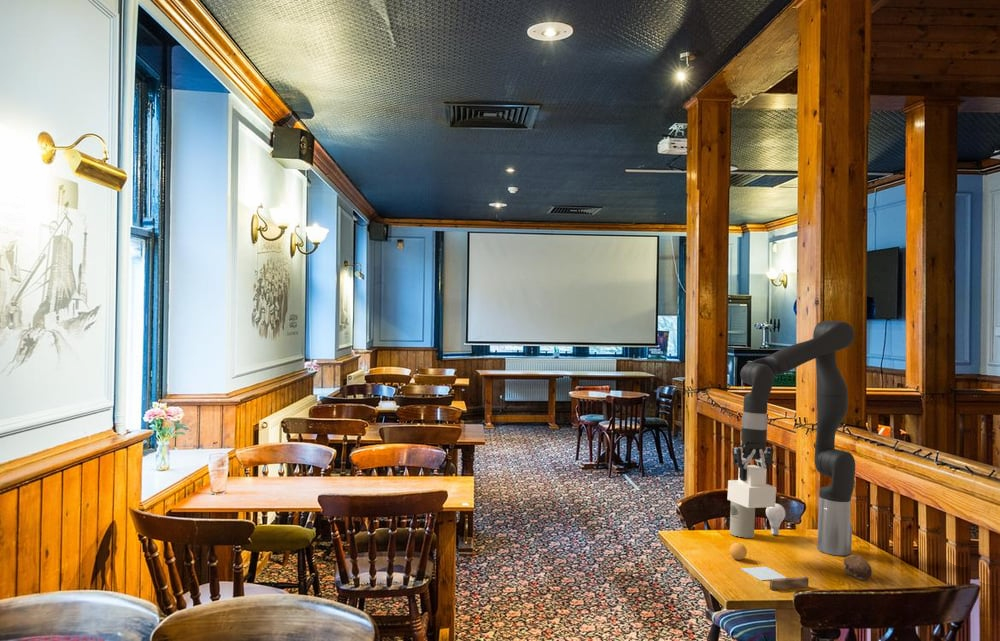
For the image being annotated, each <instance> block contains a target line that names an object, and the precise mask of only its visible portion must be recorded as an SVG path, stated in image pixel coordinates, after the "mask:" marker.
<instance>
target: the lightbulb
mask: <svg viewBox="0 0 1000 641" xmlns="http://www.w3.org/2000/svg"><path fill="white" fill-rule="evenodd" d="M765 508H766V509H765V515H766V516H765V517H767V520H768V521H769V526H770V534H771V535H773V536H777V535H779V534H780V527H781V524H782V522H783V520H784V519H785V517H786V510H785V508H784V507H783V505H781V504H779V503H776V502H775V507H765Z"/></svg>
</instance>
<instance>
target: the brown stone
mask: <svg viewBox="0 0 1000 641" xmlns="http://www.w3.org/2000/svg"><path fill="white" fill-rule="evenodd" d="M843 562H844V569H843V571H844V573H845V574H847V575H850V576H854V577H855V578H856V579H859V580H862V581H864V580H865V581H866V580H868V579H869V578H870V577H871V576H872V574H873V571H872V570H873V569H872V567H871V565H870V563H869V562H868V560H866V559H865V558H864V557H862V556H860V555H858V554H857V555H856V554H850V555H849V554H848V555H846V556H845V558H844V561H843Z"/></svg>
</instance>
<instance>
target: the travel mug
mask: <svg viewBox="0 0 1000 641" xmlns="http://www.w3.org/2000/svg"><path fill="white" fill-rule="evenodd" d="M729 514H730V515H729V516H730V517H729V534H731V535H732V536H733V535H734V537H736V536H738V537H737V538H740V537H744V538H743V539H751V538H754V537H755V524H756V523H755V521H756V520H755V519H756V518H755V517H756V508H747V507H745V506H742V505H740V504H737V503H735V502H732V501H730V512H729Z"/></svg>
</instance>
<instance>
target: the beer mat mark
mask: <svg viewBox="0 0 1000 641" xmlns="http://www.w3.org/2000/svg"><path fill="white" fill-rule="evenodd" d="M740 570H741V571H743V572H745V573H747V574H749V575H750V576H752V577H754V578H755V579H757V580H759V581H761V582H762V581H763V580H765V581H770V580H772V579H783V578H788V577H787V576H785V575H783V574H781V573H780V572H777V571H775V570H774V569H772V568H770V567H768V566H758V567H757V566H756V567H742V568H740Z"/></svg>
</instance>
